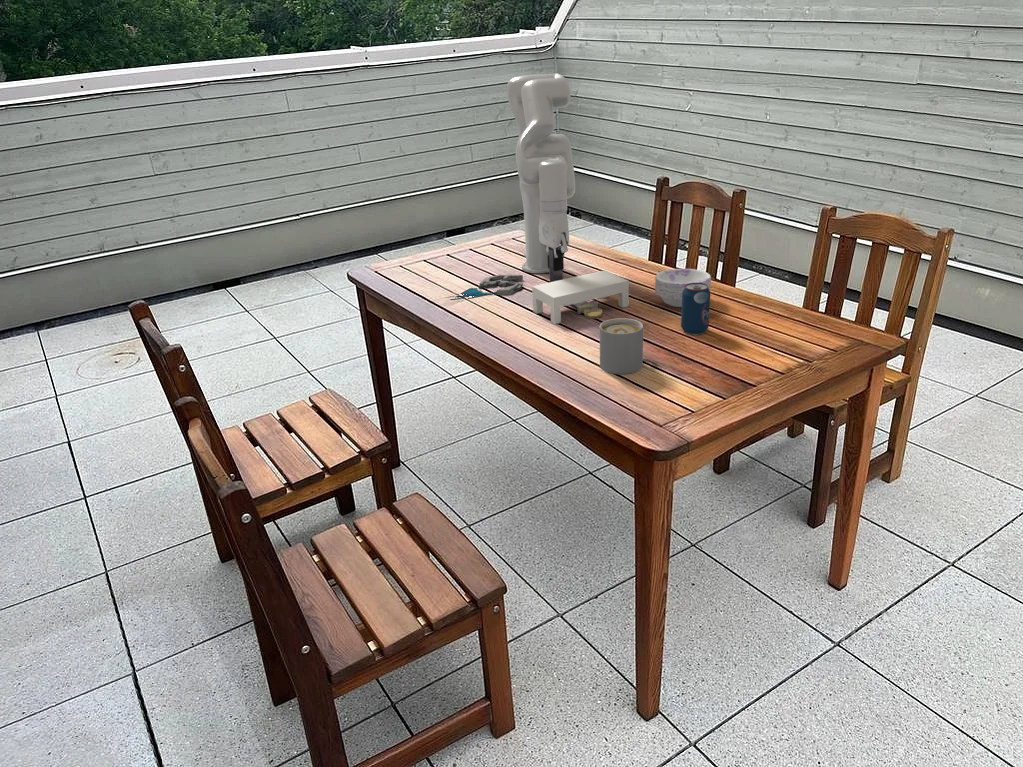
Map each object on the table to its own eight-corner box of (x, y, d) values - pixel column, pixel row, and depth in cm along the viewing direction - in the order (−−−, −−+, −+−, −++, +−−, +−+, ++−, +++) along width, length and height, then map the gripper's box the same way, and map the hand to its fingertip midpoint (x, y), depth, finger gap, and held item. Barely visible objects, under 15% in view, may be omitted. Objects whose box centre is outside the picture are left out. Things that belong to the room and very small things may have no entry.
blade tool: (546, 296, 228) (544, 249, 222) (563, 292, 230) (562, 246, 224) (579, 313, 213) (577, 264, 207) (597, 309, 215) (596, 260, 209)
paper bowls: (686, 290, 227) (687, 263, 224) (721, 304, 215) (722, 276, 211) (643, 300, 221) (644, 273, 218) (676, 315, 209) (677, 287, 205)
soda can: (709, 336, 194) (711, 290, 189) (680, 335, 196) (682, 290, 191) (707, 326, 200) (710, 281, 195) (680, 325, 202) (682, 281, 197)
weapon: (537, 288, 236) (515, 276, 249) (537, 282, 236) (514, 270, 248) (434, 315, 223) (415, 300, 236) (433, 309, 223) (414, 295, 235)
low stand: (533, 311, 218) (532, 286, 215) (604, 294, 227) (604, 270, 224) (554, 324, 208) (553, 297, 205) (628, 306, 217) (628, 280, 214)
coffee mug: (622, 378, 175) (622, 337, 171) (591, 366, 182) (590, 326, 178) (661, 360, 182) (662, 321, 178) (629, 349, 190) (629, 311, 185)
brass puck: (580, 315, 213) (580, 309, 213) (596, 311, 215) (596, 306, 214) (590, 320, 209) (590, 315, 208) (605, 316, 211) (605, 311, 210)
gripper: (528, 203, 222) (531, 264, 230) (556, 212, 209) (558, 278, 217) (551, 199, 225) (553, 260, 233) (580, 208, 212) (581, 273, 220)
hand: (555, 268), depth 225 cm, fingers closed on blade tool
